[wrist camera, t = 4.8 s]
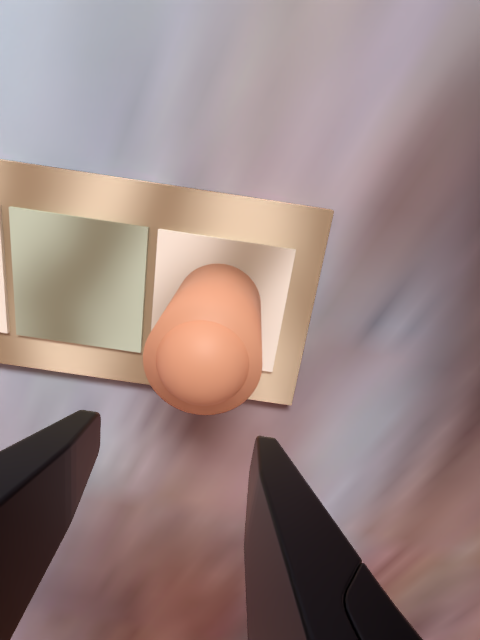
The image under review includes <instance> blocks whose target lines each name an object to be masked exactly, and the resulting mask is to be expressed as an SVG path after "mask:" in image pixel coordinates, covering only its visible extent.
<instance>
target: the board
mask: <svg viewBox="0 0 480 640" xmlns="http://www.w3.org/2000/svg"><path fill="white" fill-rule="evenodd" d="M333 213H334V211H333V210H331V209H325V208H318V207H312V206H305V205H298V204H292V203H285V202H279V201H272V200H266V199H259V198H252V197H246V196H239V195H233V194H226V193H220V192H213V191H206V190H200V189H193V188H187V187H180V186H174V185H167V184H160V183H154V182H147V181H141V180H134V179H128V178H121V177H114V176H108V175H101V174H95V173H88V172H82V171H75V170H68V169H62V168H55V167H49V166H42V165H36V164H29V163H22V162H16V161H9V160H3V159H0V363H2V364H9V365H16V366H23V367H29V368H36V369H43V370H50V371H57V372H64V373H71V374H78V375H85V376H92V377H98V378H105V379H112V380H119V381H126V382H133V383H140V384H147V385H150V383H149V382H148V379H147V377H146V374H145V371H144V366H143V351H144V346H145V343H146V340H147V338H148V336H149V334H150V332H151V331H152V329H153V328H154V326H155V325H156V323H157V321H158V320H159V318H160V317H161V315H162V314H163V312H164V310H165V309H166V307H167V306H168V304H169V303H170V301H171V299H172V298H173V296H174V295H175V293H176V292H177V290H178V288H179V287H180V285H181V284H182V282H183V281H184V279H185V278H186V277H187V276H188V275H189V274H190V273H191V272H192V271H194V270H196V269H197V268H199V267H202V266H205V265H208V264H226V265H230V266H233V267H236V268H238V269H240V270H241V271H243V272H244V273H245V274H247V275H248V276H249V277H250V278H251V280H252V281H253V282H254V284H255V285H256V287H257V289H258V292H259V295H260V300H261V330H262V374H261V377H260V381H259V383H258V385H257V387H256V389H255V390H254V392H253V393H252V394H251V396H250V397H249V398H248V399H250V400H257V401H264V402H271V403H278V404H285V405H291V404H292V399H293V395H294V390H295V386H296V381H297V377H298V372H299V368H300V363H301V359H302V354H303V350H304V345H305V340H306V336H307V331H308V327H309V322H310V318H311V313H312V309H313V304H314V300H315V295H316V290H317V286H318V281H319V277H320V272H321V268H322V263H323V259H324V254H325V250H326V245H327V240H328V236H329V231H330V227H331V222H332V218H333Z"/></svg>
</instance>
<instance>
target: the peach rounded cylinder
mask: <svg viewBox="0 0 480 640" xmlns="http://www.w3.org/2000/svg"><path fill="white" fill-rule="evenodd" d="M143 366H144V371H145V374H146V377H147V379H148V382H149V383H150V385H151V387H152V388H153V390H154V391H155V392H156V393H157V394H158V395H159V396H160V397H161V398H162V399H163V400H164V401H165V402H167V403H168V404H170V405H171V406H173V407H175V408H177V409H179V410H181V411H184V412H187V413H192V414H197V415H214V414H220V413H224V412H227V411H229V410H232V409H234V408H236V407H238V406H239V405H241V404H242V403H243V402H245V401H246V400H247V399H248V398H249V397H250V396H251V394H252V393H253V392H254V390H255V389H256V387H257V385H258V383H259V381H260V377H261V374H262V330H261V300H260V295H259V292H258V289H257V287H256V285H255V284H254V282H253V281H252V280H251V278H250V277H249V276H248V275H247V274H245V273H244V272H243V271H241V270H240V269H238V268H236V267H233V266H230V265H226V264H208V265H205V266H202V267H199V268H197V269H196V270H194V271H192V272H191V273H190V274H189V275H188V276H187V277H186V278H185V279H184V281H183V282H182V284H181V285H180V287H179V288H178V290H177V292H176V293H175V295H174V296H173V298H172V299H171V301H170V303H169V304H168V306H167V307H166V309H165V310H164V312H163V314H162V315H161V317H160V318H159V320H158V321H157V323H156V325H155V326H154V328H153V329H152V331H151V332H150V334H149V336H148V338H147V340H146V343H145V346H144V351H143Z"/></svg>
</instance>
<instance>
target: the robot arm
mask: <svg viewBox="0 0 480 640" xmlns="http://www.w3.org/2000/svg"><path fill="white" fill-rule="evenodd" d="M100 427H101V417H100V414H99V413H98V412H93V411H86V410H79V411H77V412H75V413H73V414H71V415H69V416H67V417H65V418H64V419H62V420H60V421H58V422H56V423H54V424H52V425H50V426H48V427H46V428H44V429H42V430H40V431H38V432H36V433H35V434H33V435H31V436H29V437H27V438H25V439H23V440H21V441H19V442H17V443H15V444H13V445H11V446H9V447H8V448H6V449H4V450H2V451H0V640H10V639H11V637H12V635H13V633H14V631H15V629H16V627H17V625H18V624H19V622H20V620H21V618H22V616H23V614H24V612H25V610H26V608H27V606H28V604H29V603H30V601H31V599H32V597H33V595H34V593H35V591H36V589H37V587H38V585H39V583H40V582H41V580H42V578H43V576H44V574H45V572H46V570H47V568H48V566H49V564H50V562H51V561H52V559H53V557H54V555H55V553H56V551H57V549H58V547H59V545H60V543H61V541H62V540H63V538H64V536H65V534H66V532H67V530H68V528H69V526H70V524H71V522H72V519H73V517H74V514H75V512H76V509H77V507H78V504H79V502H80V499H81V497H82V494H83V492H84V489H85V486H86V484H87V481H88V479H89V476H90V474H91V471H92V469H93V466H94V463H95V461H96V458H97V456H98V452H99V448H100ZM244 561H245V583H246V605H247V628H248V640H423V639H422V638H421V637H420V636H419V634H418V633H417V632H416V631H415V629H414V628H413V627H412V626H411V624H410V623H409V622H408V621H407V620H406V618H405V617H404V616H403V615H402V613H401V612H400V611H399V610H398V608H397V607H396V606H395V604H394V603H393V602H392V600H391V599H390V598H389V596H388V595H387V594H386V592H385V591H384V590H383V588H382V587H381V586H380V584H379V583H378V582H377V580H376V579H375V577H374V576H373V575H372V573H371V572H370V570H369V569H368V568H367V566H366V565H365V564H364V563H362V560H361V558H360V557H359V555H358V554H357V552H356V551H355V550H354V548H353V547H352V545H351V544H350V543H349V541H348V540H347V538H346V537H345V536H344V534H343V533H342V531H341V530H340V528H339V527H338V526H337V524H336V523H335V521H334V520H333V519H332V517H331V516H330V514H329V513H328V512H327V510H326V509H325V507H324V506H323V505H322V503H321V502H320V500H319V499H318V497H317V496H316V495H315V493H314V492H313V490H312V489H311V488H310V486H309V485H308V483H307V482H306V481H305V479H304V478H303V476H302V475H301V474H300V472H299V471H298V469H297V468H296V466H295V465H294V464H293V462H292V461H291V459H290V458H289V457H288V455H287V454H286V452H285V451H284V450H283V448H282V447H281V445H280V444H279V443H278V441H277V440H276V439H275V438H271V437H264V436H258V437H257V438H256V440H255V444H254V449H253V455H252V460H251V465H250V471H249V482H248V495H247V509H246V523H245V538H244Z"/></svg>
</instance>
